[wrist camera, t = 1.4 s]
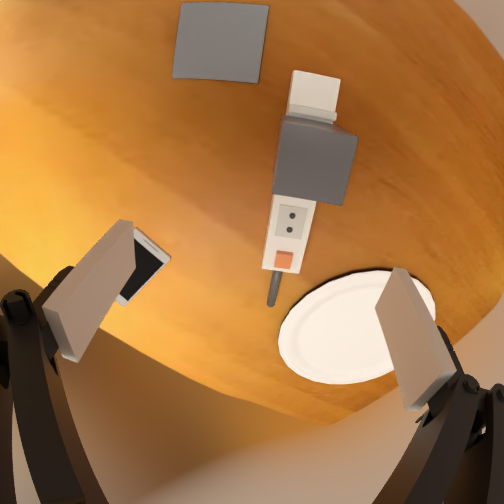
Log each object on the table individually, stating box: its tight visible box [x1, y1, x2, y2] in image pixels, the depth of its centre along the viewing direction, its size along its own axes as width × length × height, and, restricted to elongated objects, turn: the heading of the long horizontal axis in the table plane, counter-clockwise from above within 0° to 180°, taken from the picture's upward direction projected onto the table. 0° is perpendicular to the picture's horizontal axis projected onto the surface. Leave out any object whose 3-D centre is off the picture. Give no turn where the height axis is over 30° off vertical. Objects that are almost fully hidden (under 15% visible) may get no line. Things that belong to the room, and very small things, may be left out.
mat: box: [172, 2, 269, 84], centre depth 27 cm, size 10×10×1 cm
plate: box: [278, 270, 435, 384], centre depth 48 cm, size 29×29×2 cm
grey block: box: [272, 114, 358, 206], centre depth 26 cm, size 6×6×8 cm
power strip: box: [262, 70, 341, 307], centre depth 35 cm, size 33×5×5 cm, turn 173°
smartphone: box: [115, 227, 171, 306], centre depth 45 cm, size 7×15×1 cm, turn 135°
